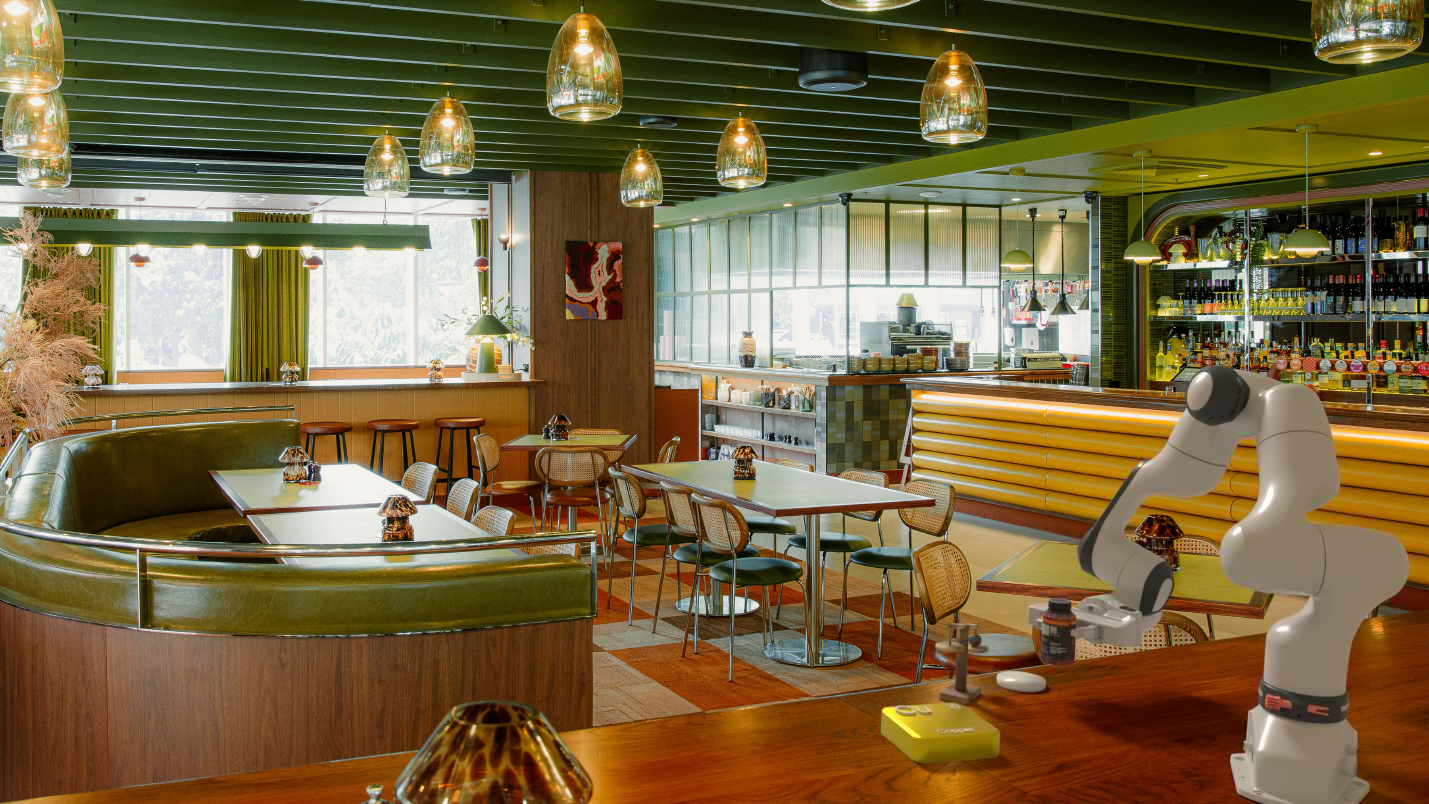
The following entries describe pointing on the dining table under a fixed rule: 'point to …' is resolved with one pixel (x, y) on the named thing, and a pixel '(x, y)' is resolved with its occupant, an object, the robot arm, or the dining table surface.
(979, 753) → the element tile
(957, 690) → the balance
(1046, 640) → the supplement bottle
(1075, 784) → the dining table surface
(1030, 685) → the dish
